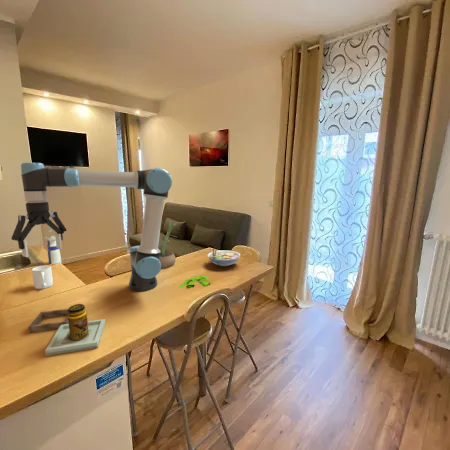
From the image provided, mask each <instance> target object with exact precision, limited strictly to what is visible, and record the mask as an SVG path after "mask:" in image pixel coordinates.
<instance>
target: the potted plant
mask: <svg viewBox="0 0 450 450" xmlns="http://www.w3.org/2000/svg"><path fill="white" fill-rule="evenodd" d="M168 222H169V223H168V227H167V230H166V231H167V232H166V235H165V236H163V237H161V240H160V248H159V250H160V251H161V252H160V260H159V261H160V262H161V269H166V268H165V267H167V268H170V267H172V266H174V265H175V263H176V256H175V254H174V253H173V252H172V251H166V245H167V242H170V237H174V238H175V239H176V238H177V239H178V237H177V236H176V235H173V234H171V233H172V230H173V228H174V227H175V226H176V228H178V230H179V231H181V228H179V227H177V223H173V224H172V221H171V220H169V221H168Z"/></svg>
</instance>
